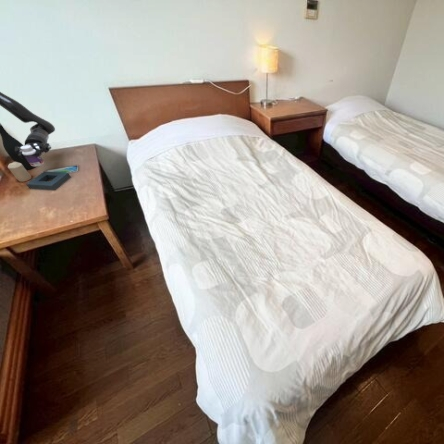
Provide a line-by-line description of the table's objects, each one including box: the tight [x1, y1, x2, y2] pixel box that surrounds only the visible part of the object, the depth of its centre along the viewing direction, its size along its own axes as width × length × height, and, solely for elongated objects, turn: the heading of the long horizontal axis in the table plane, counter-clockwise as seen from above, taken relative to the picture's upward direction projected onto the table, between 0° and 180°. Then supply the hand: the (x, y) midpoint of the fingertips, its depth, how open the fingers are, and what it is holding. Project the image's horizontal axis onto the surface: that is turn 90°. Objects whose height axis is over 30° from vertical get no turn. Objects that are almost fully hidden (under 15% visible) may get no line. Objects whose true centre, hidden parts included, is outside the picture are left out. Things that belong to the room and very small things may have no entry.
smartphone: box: [46, 165, 79, 173], centre depth 145 cm, size 7×1×15 cm
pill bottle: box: [20, 144, 45, 168], centre depth 125 cm, size 5×5×10 cm
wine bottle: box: [0, 122, 35, 171], centre depth 135 cm, size 8×8×30 cm
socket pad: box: [25, 170, 72, 191], centre depth 135 cm, size 13×13×3 cm
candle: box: [7, 161, 32, 183], centre depth 133 cm, size 6×6×10 cm
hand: (29, 155), depth 122 cm, fingers closed on pill bottle, 5 cm apart
